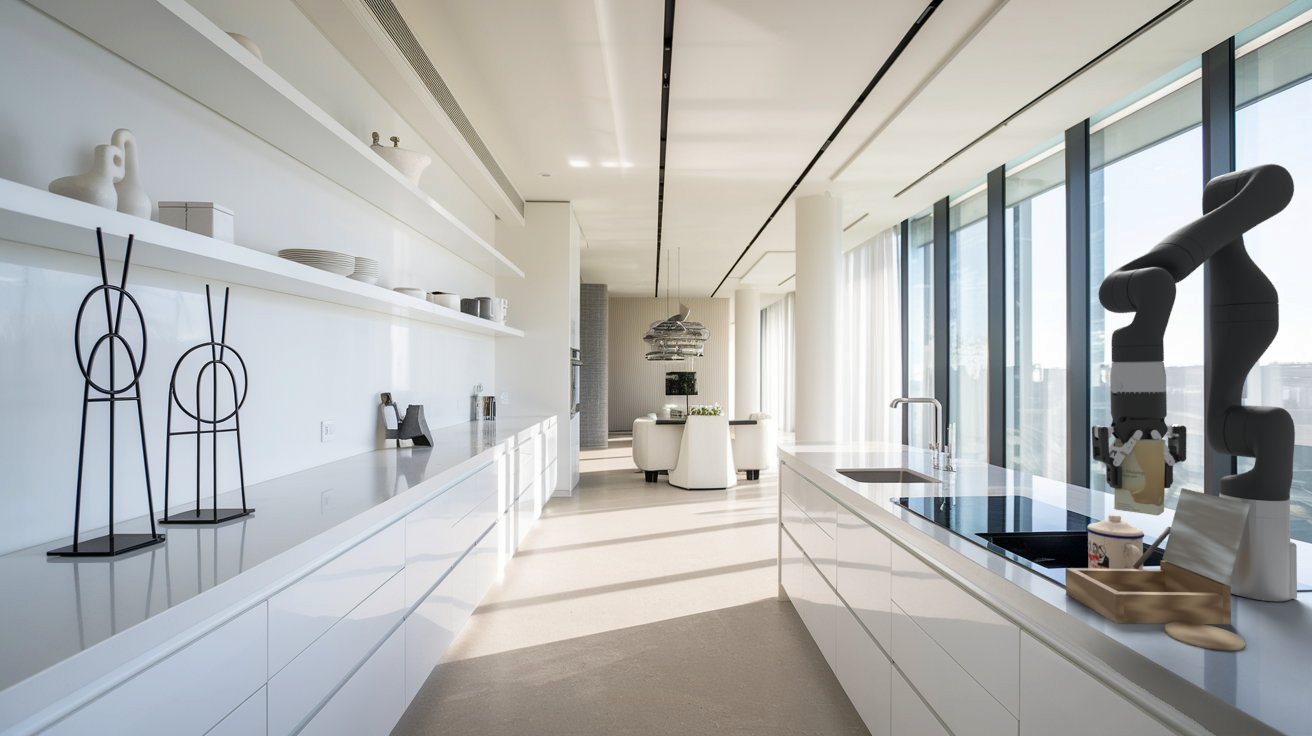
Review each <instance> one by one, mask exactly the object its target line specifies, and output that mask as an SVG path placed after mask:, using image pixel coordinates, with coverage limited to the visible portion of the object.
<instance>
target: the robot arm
mask: <svg viewBox="0 0 1312 736" xmlns="http://www.w3.org/2000/svg"><path fill="white" fill-rule="evenodd" d="M1294 192H1295V183H1294V180H1293V177H1292V175H1291V174H1290V172H1289V171H1288V170H1287V169H1286V168H1285V167H1284V166H1282V165H1279V164H1275V163H1269V164H1268V163H1267V164H1260V165H1254V166H1251V167H1246V168H1244V169H1239V170H1236V171H1232V172H1228V173H1225V174H1222V175H1218V176H1216V177H1214V178H1211V179H1210V180H1209V181H1208V182H1207V184H1206V185H1205V187H1204V189H1203V193H1202V199H1201V200H1202V202H1201V203H1202V204H1201V205H1202V206H1201V208H1202V216H1200V217H1198V218H1196V219H1193V220H1191V221H1189V222H1188V223H1185V224H1184V225H1183V226H1181V227H1178V228H1177V229H1175V230H1173V231H1172V232H1171V233H1170V234H1168V235H1167V236H1165V237H1164V238H1163V239H1162V240H1161V241H1159V242H1158V243H1157V244H1155V246H1153V248H1151V249H1150V250H1149V251H1148V252H1146V253H1145V254H1143V255H1140V256H1138V257H1137V258H1134V259H1133V260H1131V261H1129V262H1127V263H1126V264H1124V265H1122V266H1120V267H1119V268H1118V267H1117V269H1115V270H1114V271H1112V272H1111V273H1109V274H1108V275H1107V276H1106V277H1105V278H1104V279H1103V281H1102V282H1101V285H1100V287H1099V290H1098V299H1099V300H1098V301H1099V303H1100V305H1101V306H1102V307H1103V308H1104V309H1106V310H1107V311H1109V312H1111V313H1114V314H1128V313H1135V315H1134V317H1133V319H1132V322H1131V323H1130V324H1128V325H1126V326H1123V327H1120V328H1117V329H1115V330H1114V331H1113V333H1112V334H1111V368H1110V376H1109V378H1110V379H1109V382H1110V383H1109V385H1110V386H1109V387H1110V392H1109V393H1110V415H1111V418H1112V421H1111V424H1110V425H1107V426H1103V425H1102V426H1101V425H1097V424H1096V425H1093V426H1092V427H1091V439H1092V440H1091V441H1092V442H1091V443H1092V444H1091V445H1092V459H1093V461H1097V462H1100V463H1103V464H1104V465H1105V471H1106V472H1105V473H1106V474H1105V475H1106V478H1105V481H1106V483H1107V484H1108V485H1109V487H1110V488H1112V489H1114V490H1115V489H1121V488H1122V467H1120V466H1119V465H1120V464H1121V462H1122V461H1123V459H1124V458H1125V456H1127V455H1129V453H1130V452H1131V450H1132V449H1133V447H1134V446H1135V444H1136V442H1137V441H1139V440H1140V439H1152V440H1162V439H1163V438H1164V437H1165V435H1166V437H1167V444H1166V442H1165V443H1164V454H1165V486H1164V489H1170V488H1171V486H1172V485H1173V482H1174V465H1176V464H1177V463H1180V462H1181V463H1182V462H1183V463H1184V462H1186V461H1187V427H1186V426H1185V425H1181V424H1169V425H1167V424H1166V420H1165V418H1166V417H1167V414H1168V411H1167V410H1168V409H1167V407H1168V406H1167V405H1168V404H1167V401H1168V400H1167V372H1166V368H1165V362H1164V361H1165V359H1164V358H1165V355H1164V354H1165V347H1164V345H1165V344H1164V338H1165V337H1164V336H1165V333H1166V330H1167V327H1168V325H1169V321H1170V317H1171V315H1172V311H1173V308H1174V304H1175V301H1176V297H1177V285H1176V284H1177V283H1181V282H1182V281H1184V280H1185V279H1186V278H1187V277H1189V276H1190V275H1191V274H1192V273H1193V272H1195V271H1196V270H1197V269H1198V268H1199V267H1201V265H1202V264H1204V263H1205V262H1206V261H1207V260H1208V269H1209V270H1208V271H1209V304H1208V305H1209V306H1208V307H1209V330H1210V332H1209V333H1210V381H1209V388H1208V389H1209V391H1208V399H1207V400H1208V401H1207V411H1206V437H1207V440H1208V443H1209V446H1210V447H1211V449H1212V450H1213V451H1214V452H1215V453H1217V454H1219V455H1225V456H1235V457H1244V458H1253V459H1255V460H1254V466H1253V468H1252V469H1250V470H1248V471H1246V472H1242V473H1236V474H1231V475H1225V476H1223V477H1221V478H1220V479H1219V484H1218V485H1219V487H1218V488H1219V490H1218V491H1219V496H1218V497H1221V498H1226V499H1230V500H1234V501H1238V502H1243V503H1247V504H1250V507H1249V511H1248V514H1247V518H1246V522H1245V525H1244V529H1243V533H1242V537H1241V540H1240V544H1239V548H1238V551H1237V555H1236V559H1235V562H1234V566H1233V570H1232V573H1231V577H1230V581H1229V584H1227V585H1230V586H1231V595H1232V594H1233V595H1236V596H1239V597H1243V598H1247V599H1253V600H1258V601H1268V602H1287V601H1290V600H1292V599H1293V600H1294V599H1295V600H1296V599H1298V574H1297V572H1298V562H1297V561H1298V560H1297V559H1298V558H1297V557H1298V556H1297V555H1298V552H1297V544H1296V543H1295V542H1293V541H1291V488H1292V483H1293V476H1294V475H1293V474H1294V467H1293V466H1294V455H1295V438H1296V431H1295V430H1296V429H1295V422H1294V420H1293V417H1292V415H1291V414H1290V412H1289V411H1287V410H1286V409H1285V408H1283V407H1280V406H1279V407H1278V406H1269V405H1268V406H1266V405H1247V404H1244V405H1243V404H1242V401H1243V400H1242V399H1243V390H1244V386H1245V382H1246V380H1247V377H1248V375H1249V374H1250V372H1251V370H1252V369H1253V367H1255V365H1256V364H1257V362H1258V361H1259V360H1260V359H1261V358H1262V356H1263V355H1264V354H1265V352H1266V351H1267V350H1268V349H1269V347H1271V344H1272V343H1273V342H1274V340H1275V338H1276V337H1277V334H1278V332H1279V327H1280V325H1279V324H1280V310H1279V309H1280V308H1279V307H1280V304H1279V303H1280V302H1279V301H1280V300H1279V295H1278V291H1277V289H1276V287H1275V285H1274V284H1273V282H1272V281H1271V280H1270V279H1269V278H1268V276H1267V275H1266V273H1264V271H1263V270H1261V268H1260V267H1259V266H1258V265H1257V263H1256V262H1254V260H1253V258H1251V256H1250V254H1249V252H1248V251H1247V249H1246V245H1245V241H1244V240H1245V239H1244V234H1245V233H1247V232H1248V231H1250V230H1252V229H1254V228H1255V227H1257V226H1258V225H1260V224H1262V223H1263V222H1265V221H1268V220H1269V219H1271V218H1273V217H1275V216H1276V215H1278V214H1280V213H1281V212H1282V211H1284V210H1285V209H1286V208H1287V206H1289V204H1290V203H1291V202H1292V198H1293V196H1294ZM1112 436H1113V437H1114V439H1113V441H1112V442H1111V444H1110V443H1109V439H1110V438H1112ZM1116 438H1117V439H1118V438H1119V439H1120V440H1121V442H1122V444H1124V445H1123V446H1122V447H1115V440H1116ZM1162 441H1163V440H1162ZM1115 452H1117V453H1116V455H1115Z"/></svg>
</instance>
